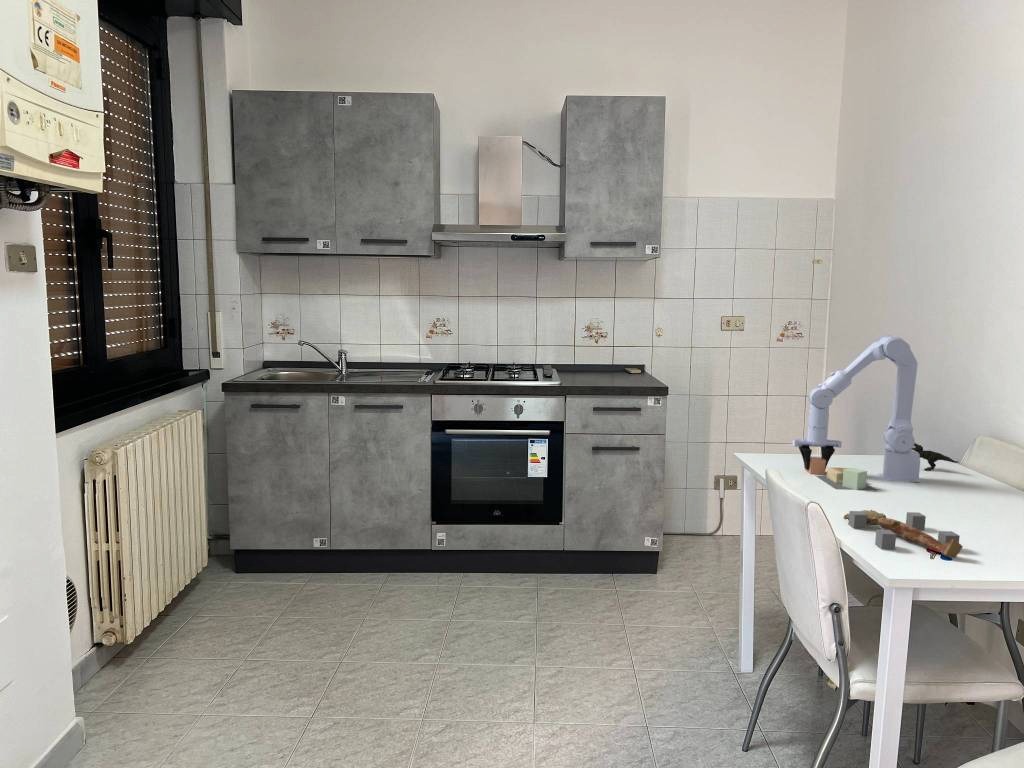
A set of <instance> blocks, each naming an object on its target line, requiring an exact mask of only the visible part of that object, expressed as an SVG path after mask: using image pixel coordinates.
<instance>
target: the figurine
mask: <svg viewBox="0 0 1024 768" xmlns="http://www.w3.org/2000/svg"><path fill="white" fill-rule="evenodd" d="M861 511H862V512H864V513H865V514H867V525H866V526H880V527H881V528H882V530H891V531H892V532H894V533H895V534H896V536H898V537H901V538H902V539H904V540H905V542H909V543H916V544H919V545H920V546H923V547H924V548H925V549H928V548H929V547H931V548H935V549H937V550H939V551H940V552H941V553H944V555H945V556H947V557H953V558H955V559H956V558H957V556H958V555H959V553H960V552H961V551H962V549H963V547H964V546H963V545H962V544H961V543H960V542H959V543H958V542H957V541H956V540H955V539H952V540H951V541H950V542H949V543H946V544H942V543H940V542H939V541H938V539H937V538H934V536H932V535H930V534H927V533H926V532H923V530H918V529H916V528H914V527H912V526H910V525H907V524H906V522H902V521H900V520H897V519H894V518H888V517H887V515H886V514H884V513H882V512H877V511H876V510H872V509H870V510H867V509H866V510H865V509H863V510H861ZM843 519H844V520H846V519H848V520H847V521H849V513H846V514H844V515H843ZM945 556H944V557H945ZM947 557H946V558H947Z"/></svg>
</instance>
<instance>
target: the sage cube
mask: <svg viewBox="0 0 1024 768" xmlns="http://www.w3.org/2000/svg"><path fill="white" fill-rule="evenodd" d="M848 468H849V469H844V471H843V484H842V486H844V487H848V488H851V489H855V491H858V489H863V488H866V484H867V480H868V479H867V477H868V470H865V469H859V468H856V467H848Z"/></svg>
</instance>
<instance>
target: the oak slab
mask: <svg viewBox="0 0 1024 768" xmlns="http://www.w3.org/2000/svg"><path fill="white" fill-rule="evenodd" d="M849 468H850V467H826V476H827V477H828V478H829V479H831V480H832V481H834V482H835V483H843V471H844V469H849Z"/></svg>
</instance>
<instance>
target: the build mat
mask: <svg viewBox="0 0 1024 768" xmlns="http://www.w3.org/2000/svg"><path fill="white" fill-rule="evenodd" d="M815 477H817V478H818V479H819V480H821V481H822V482H823V483H826V484H827V485H828V486H830V487H831V488H833V489H835V490H847V491H848V490H849V491H851V490H855V489H851V488H848V487H844V486H842V484H843V483H835V482H834V481H832V480H831V479H829V478H828V477H827V475H815ZM858 490H859V491H878V489H876V488H875V487H873V486H871V485H870V484H868V483H866V488H863V489H858ZM858 490H857V491H858ZM855 491H856V490H855Z"/></svg>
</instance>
